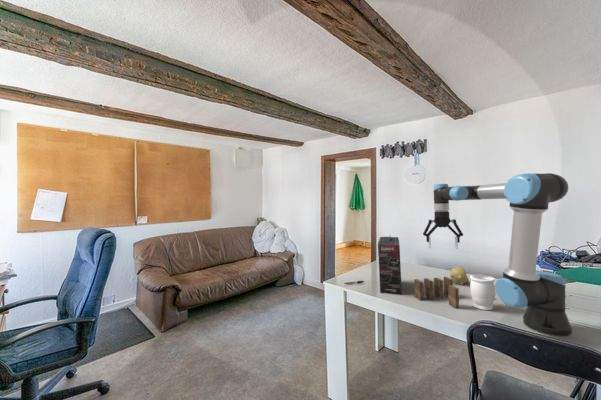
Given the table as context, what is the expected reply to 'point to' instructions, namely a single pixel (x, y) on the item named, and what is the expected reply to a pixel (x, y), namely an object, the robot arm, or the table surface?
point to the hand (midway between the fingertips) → (443, 248)
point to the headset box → (389, 265)
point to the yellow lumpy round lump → (459, 275)
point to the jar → (482, 291)
